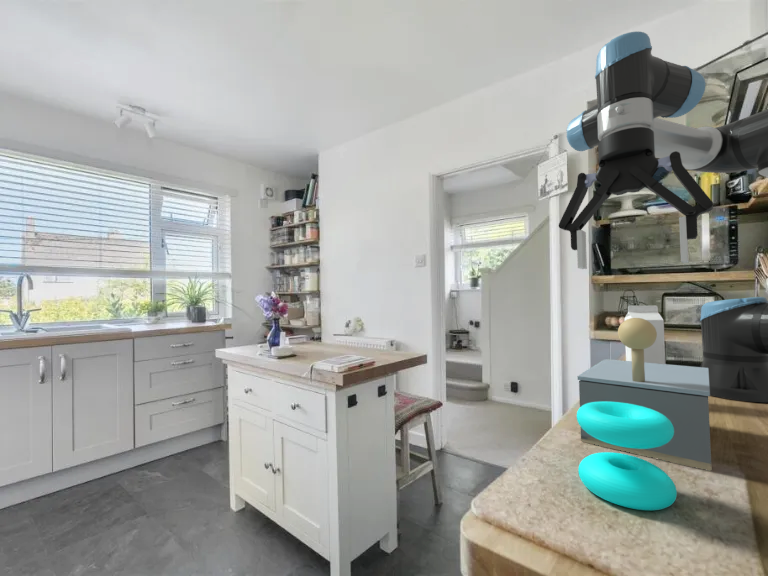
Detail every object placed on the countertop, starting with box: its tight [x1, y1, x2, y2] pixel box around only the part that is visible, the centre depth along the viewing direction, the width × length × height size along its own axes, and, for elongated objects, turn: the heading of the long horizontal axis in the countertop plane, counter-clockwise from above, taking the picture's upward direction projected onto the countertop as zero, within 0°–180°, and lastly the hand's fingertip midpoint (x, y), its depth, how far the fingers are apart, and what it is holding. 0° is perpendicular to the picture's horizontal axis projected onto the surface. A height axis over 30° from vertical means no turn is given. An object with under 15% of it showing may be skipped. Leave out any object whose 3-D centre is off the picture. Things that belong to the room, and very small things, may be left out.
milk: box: [623, 304, 666, 364], centre depth 83 cm, size 6×6×22 cm
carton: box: [578, 380, 713, 471], centre depth 62 cm, size 22×16×10 cm
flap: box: [577, 318, 711, 397], centre depth 62 cm, size 22×16×10 cm
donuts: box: [576, 401, 678, 511], centre depth 44 cm, size 10×10×10 cm
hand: (629, 265), depth 57 cm, fingers open, 13 cm apart
